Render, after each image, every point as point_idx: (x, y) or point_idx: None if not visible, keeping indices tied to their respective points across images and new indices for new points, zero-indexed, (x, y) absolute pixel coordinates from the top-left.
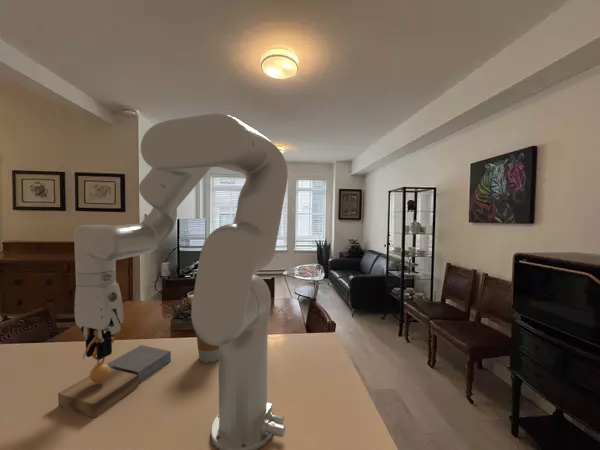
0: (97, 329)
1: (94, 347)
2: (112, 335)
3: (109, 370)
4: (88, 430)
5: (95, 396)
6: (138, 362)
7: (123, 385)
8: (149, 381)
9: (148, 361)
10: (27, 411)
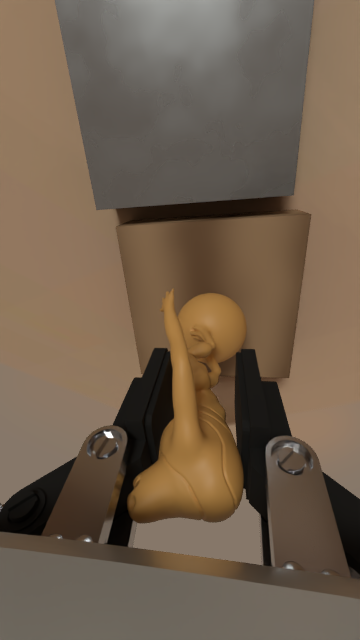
0: (116, 487)
1: (167, 406)
2: (357, 508)
3: (243, 316)
4: (305, 381)
5: (260, 355)
6: (221, 124)
7: (300, 284)
8: (317, 161)
9: (267, 84)
10: (108, 379)
